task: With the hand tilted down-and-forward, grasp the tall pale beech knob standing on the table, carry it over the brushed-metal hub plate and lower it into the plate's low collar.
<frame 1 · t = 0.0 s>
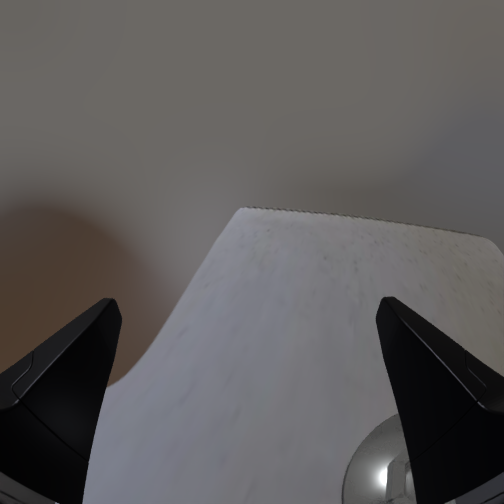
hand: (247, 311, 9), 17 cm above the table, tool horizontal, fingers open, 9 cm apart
hub: (428, 482, 14), on the table
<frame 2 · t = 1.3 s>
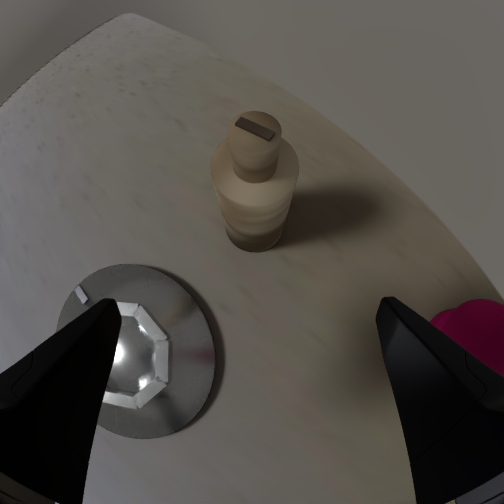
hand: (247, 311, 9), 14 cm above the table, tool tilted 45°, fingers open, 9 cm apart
pepper mill: (445, 343, 22), on the table
hub: (127, 353, 22), on the table
knob: (254, 224, 24), on the table
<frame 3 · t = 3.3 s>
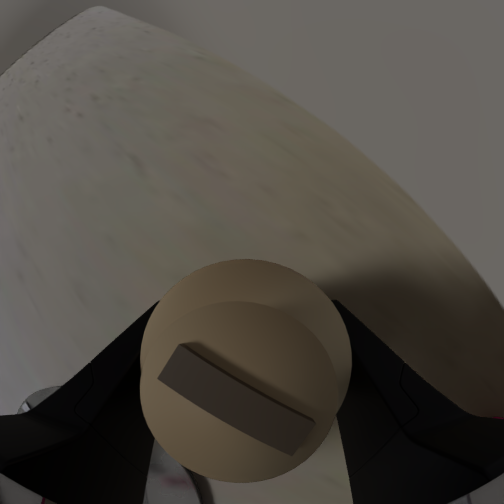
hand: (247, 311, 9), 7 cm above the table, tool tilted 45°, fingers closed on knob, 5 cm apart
hub: (96, 483, 12), on the table
knob: (250, 342, 15), on the table, touching gripper
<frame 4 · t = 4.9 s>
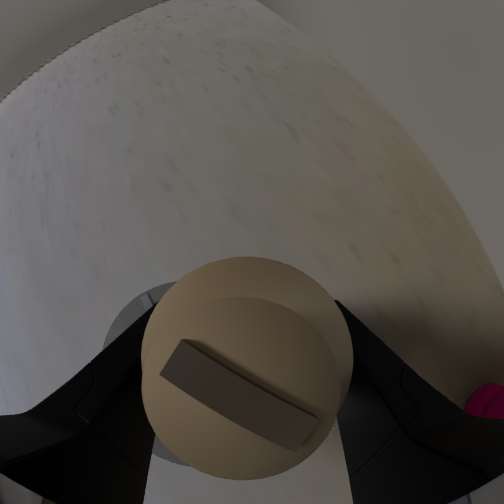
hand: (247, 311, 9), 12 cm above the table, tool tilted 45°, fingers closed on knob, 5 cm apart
pepper mill: (480, 411, 19), on the table
hub: (192, 379, 20), on the table
knob: (250, 341, 15), point 6 cm above the table, touching gripper
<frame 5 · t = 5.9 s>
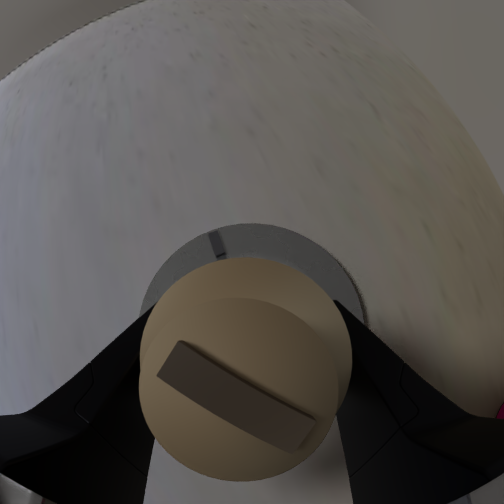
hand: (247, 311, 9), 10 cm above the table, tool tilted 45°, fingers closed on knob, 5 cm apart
hub: (250, 337, 19), on the table
knob: (250, 342, 15), point 3 cm above the table, touching gripper
when the fingers open (8 cm above the table, at t = 6.6 s): knob stays where it is, resting on hub.
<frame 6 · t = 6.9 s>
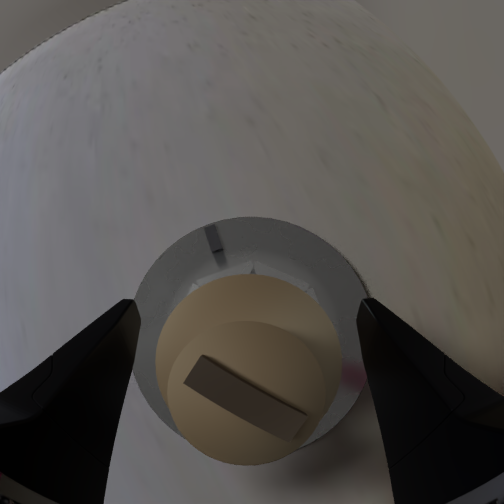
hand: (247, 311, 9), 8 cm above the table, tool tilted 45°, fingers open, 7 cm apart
hub: (250, 341, 17), on the table
knob: (250, 342, 16), point 1 cm above the table, touching hub
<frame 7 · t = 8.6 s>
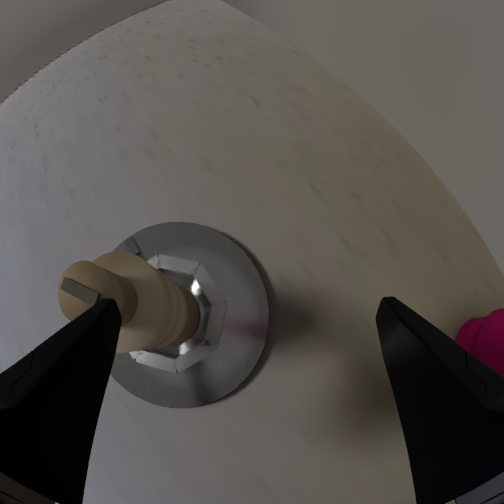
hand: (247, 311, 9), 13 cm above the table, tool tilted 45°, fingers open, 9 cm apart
pepper mill: (472, 349, 21), on the table
hub: (173, 314, 22), on the table
knob: (170, 314, 21), point 1 cm above the table, touching hub
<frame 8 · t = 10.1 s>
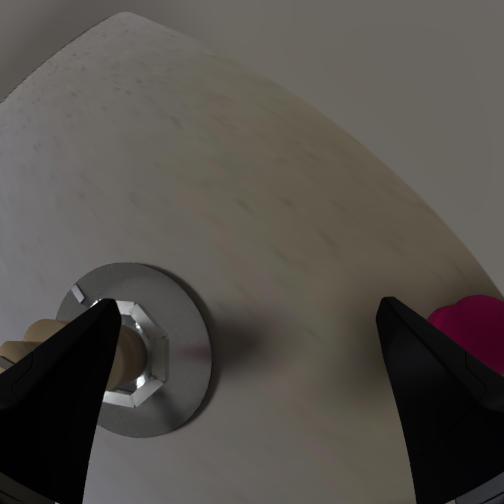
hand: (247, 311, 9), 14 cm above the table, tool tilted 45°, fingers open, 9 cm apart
pepper mill: (443, 340, 22), on the table
hub: (124, 352, 22), on the table
knob: (121, 353, 21), point 1 cm above the table, touching hub
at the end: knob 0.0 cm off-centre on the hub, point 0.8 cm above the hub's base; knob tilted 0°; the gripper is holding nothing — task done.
